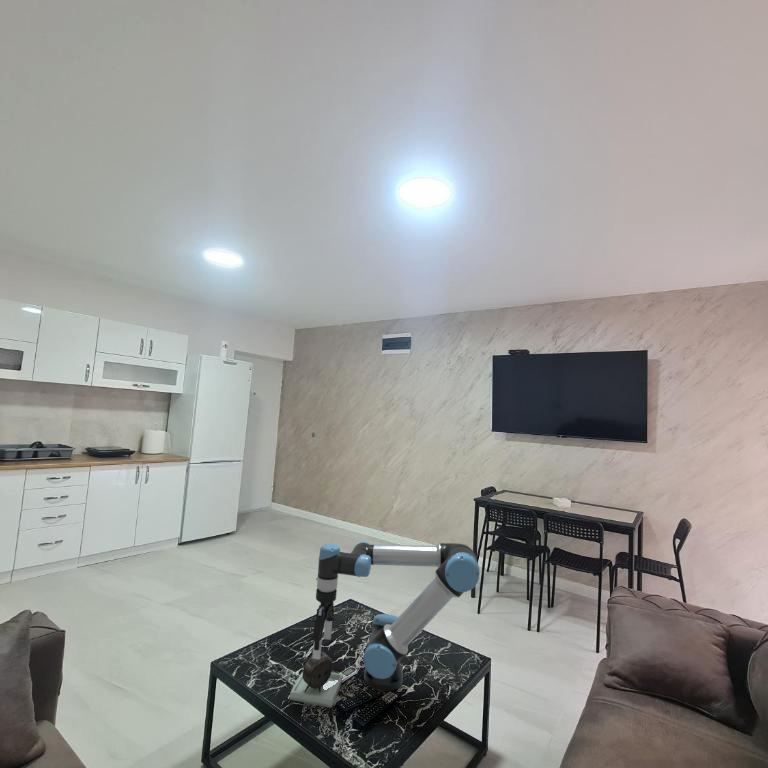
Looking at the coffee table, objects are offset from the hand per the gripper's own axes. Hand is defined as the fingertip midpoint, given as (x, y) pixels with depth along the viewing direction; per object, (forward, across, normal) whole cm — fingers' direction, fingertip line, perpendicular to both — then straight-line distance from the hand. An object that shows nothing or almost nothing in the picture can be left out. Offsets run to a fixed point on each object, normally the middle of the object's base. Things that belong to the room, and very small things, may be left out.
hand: (322, 648), depth 153 cm
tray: (+15, 0, -1) cm, 15 cm away
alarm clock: (+14, +1, 0) cm, 14 cm away
